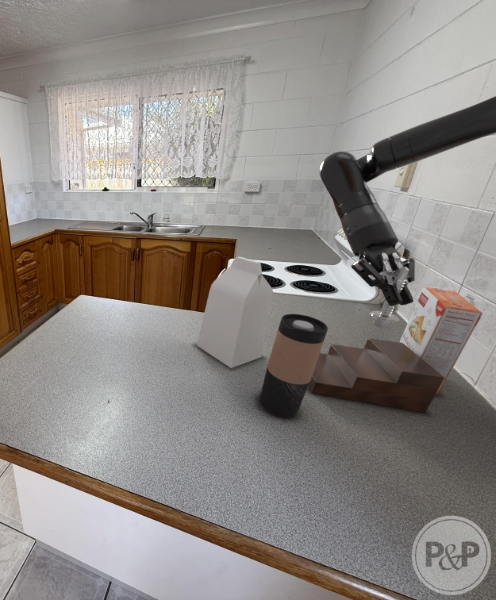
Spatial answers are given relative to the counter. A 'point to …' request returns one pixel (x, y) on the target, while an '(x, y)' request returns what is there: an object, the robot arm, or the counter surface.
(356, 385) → the shelf stand
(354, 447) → the counter surface
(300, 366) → the travel mug
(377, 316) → the screw
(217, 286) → the milk
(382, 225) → the robot arm
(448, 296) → the cracker box
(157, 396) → the counter surface
